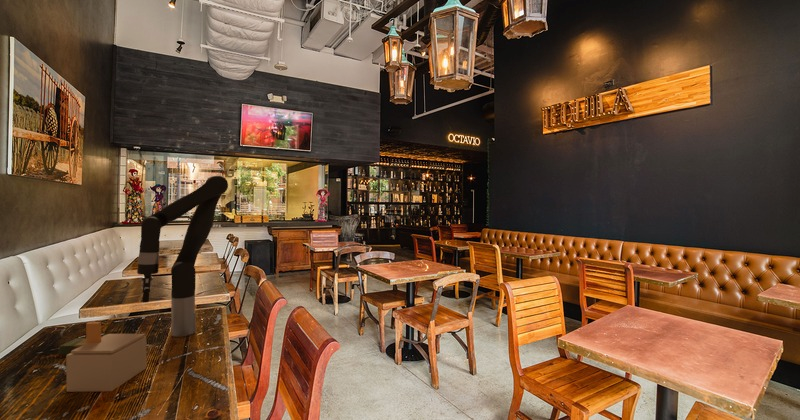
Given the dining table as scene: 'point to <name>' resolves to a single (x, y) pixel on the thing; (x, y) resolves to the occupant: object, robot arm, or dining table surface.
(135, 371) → the cardboard box
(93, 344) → the tan box lid
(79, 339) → the carton
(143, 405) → the dining table surface
